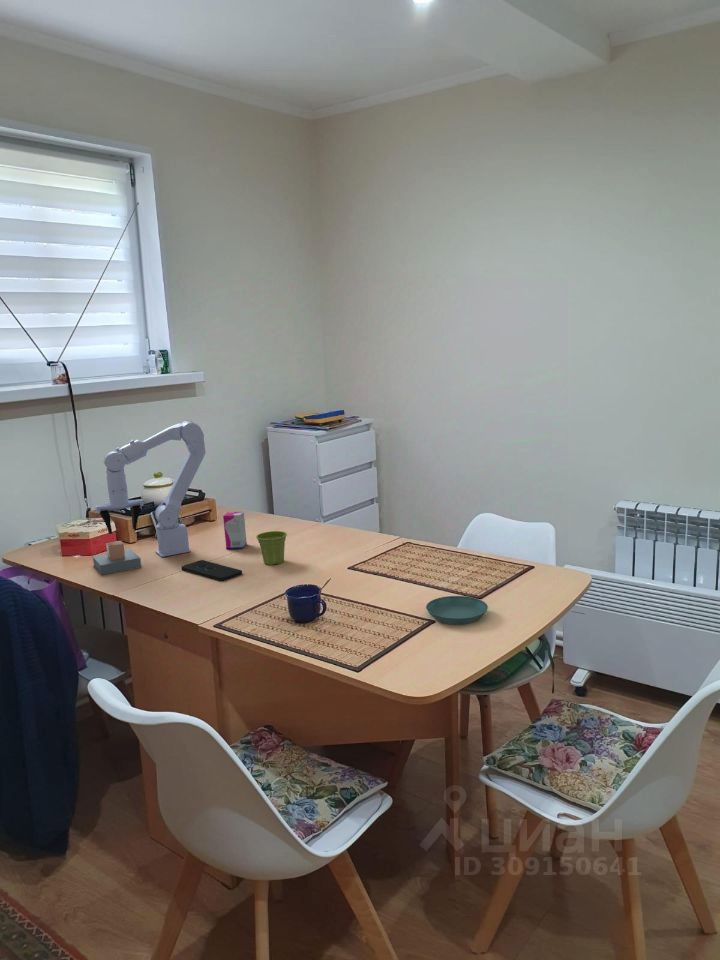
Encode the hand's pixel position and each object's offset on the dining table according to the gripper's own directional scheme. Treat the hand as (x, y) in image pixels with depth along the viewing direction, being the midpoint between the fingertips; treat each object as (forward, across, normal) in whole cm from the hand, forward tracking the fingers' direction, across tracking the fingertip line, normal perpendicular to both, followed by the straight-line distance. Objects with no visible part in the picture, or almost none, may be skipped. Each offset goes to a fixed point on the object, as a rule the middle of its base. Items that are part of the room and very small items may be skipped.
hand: (122, 531), depth 242 cm
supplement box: (+10, +34, -10) cm, 37 cm away
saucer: (+10, +55, -103) cm, 117 cm away
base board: (+9, -4, -6) cm, 12 cm away
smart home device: (+10, +18, -31) cm, 37 cm away
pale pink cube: (+6, -4, -6) cm, 10 cm away
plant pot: (+10, +37, -34) cm, 51 cm away
